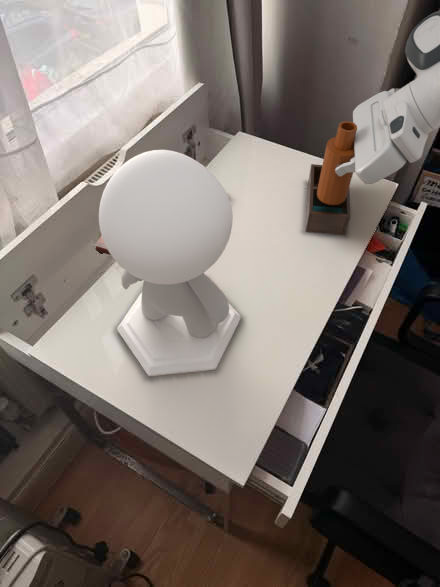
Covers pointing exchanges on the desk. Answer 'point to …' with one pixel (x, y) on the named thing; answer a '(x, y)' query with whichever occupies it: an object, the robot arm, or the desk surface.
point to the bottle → (336, 152)
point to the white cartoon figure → (170, 260)
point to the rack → (325, 209)
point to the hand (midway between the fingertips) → (336, 159)
